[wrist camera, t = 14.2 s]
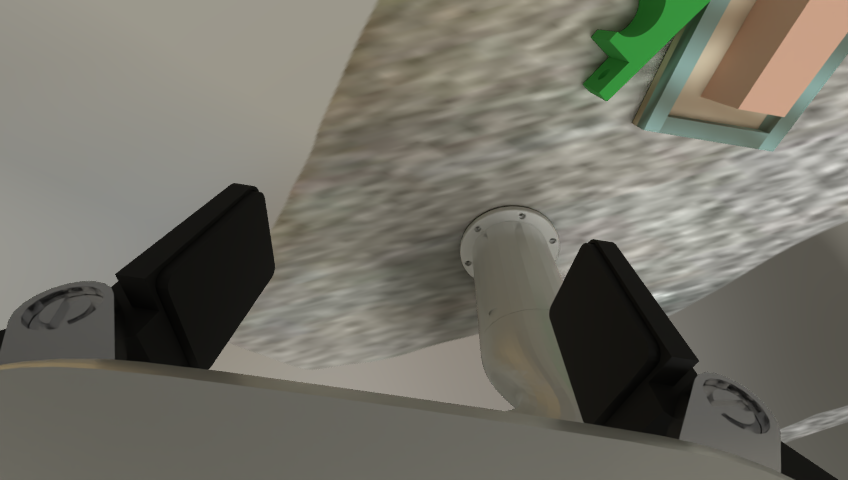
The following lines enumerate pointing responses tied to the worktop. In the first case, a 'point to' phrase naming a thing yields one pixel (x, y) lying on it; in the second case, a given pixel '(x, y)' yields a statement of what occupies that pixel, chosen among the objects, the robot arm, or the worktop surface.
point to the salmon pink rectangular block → (777, 54)
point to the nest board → (691, 72)
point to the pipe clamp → (638, 42)
